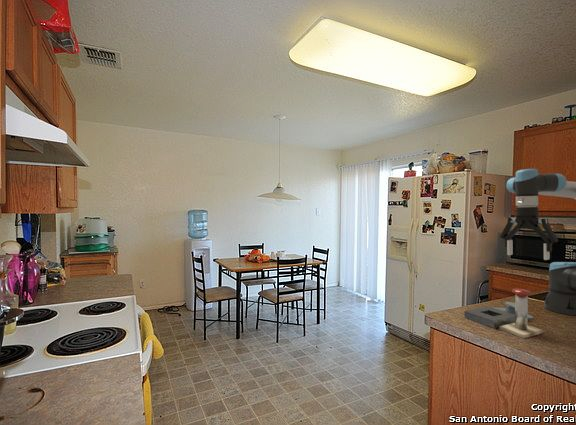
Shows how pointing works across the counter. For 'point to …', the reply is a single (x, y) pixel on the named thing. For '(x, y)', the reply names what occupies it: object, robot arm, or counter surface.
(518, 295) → the red mushroom button
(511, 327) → the birch pad
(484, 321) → the eye plate
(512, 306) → the shower valve
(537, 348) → the counter surface
